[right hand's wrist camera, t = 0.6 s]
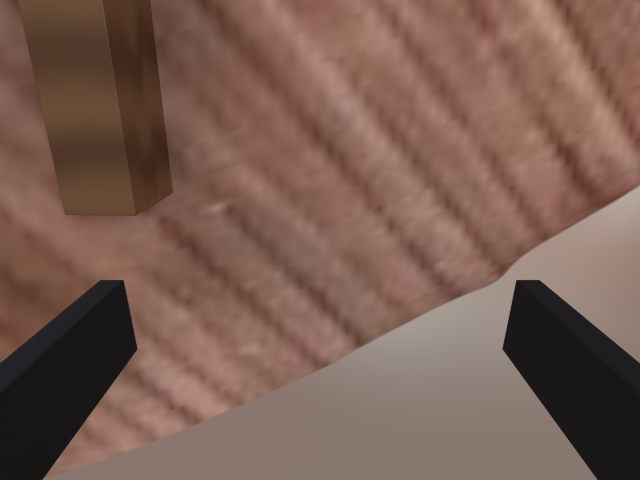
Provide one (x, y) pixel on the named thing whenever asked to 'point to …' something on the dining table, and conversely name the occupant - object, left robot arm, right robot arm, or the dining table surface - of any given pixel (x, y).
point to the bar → (100, 102)
